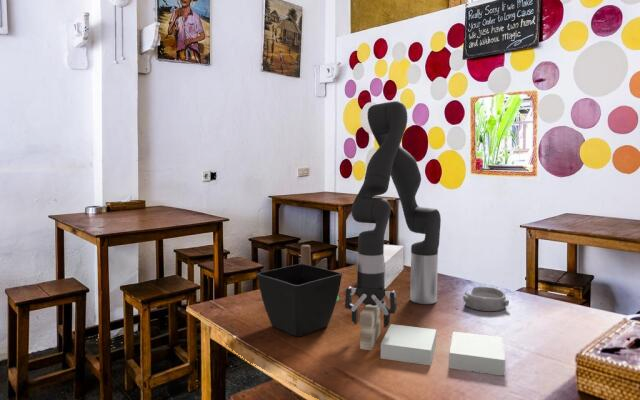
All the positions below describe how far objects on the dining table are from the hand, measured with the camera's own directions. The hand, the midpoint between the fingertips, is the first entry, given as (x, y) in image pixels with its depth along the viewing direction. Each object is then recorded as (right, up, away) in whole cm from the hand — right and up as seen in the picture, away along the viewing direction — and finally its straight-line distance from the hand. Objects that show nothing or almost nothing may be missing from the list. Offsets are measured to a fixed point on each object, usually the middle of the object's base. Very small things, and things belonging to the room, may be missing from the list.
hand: (370, 325), depth 132 cm
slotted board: (+18, -6, -9) cm, 21 cm away
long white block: (+12, +2, +65) cm, 66 cm away
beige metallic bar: (0, -5, +1) cm, 5 cm away
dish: (+43, -1, +29) cm, 52 cm away
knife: (-11, -2, +31) cm, 32 cm away
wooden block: (-17, 0, +43) cm, 46 cm away
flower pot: (-20, -4, +12) cm, 24 cm away
